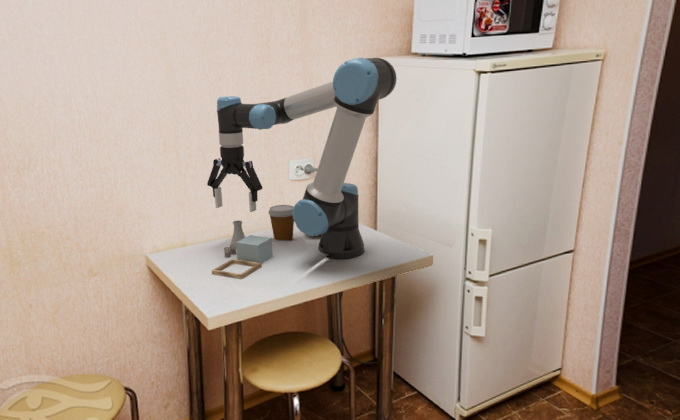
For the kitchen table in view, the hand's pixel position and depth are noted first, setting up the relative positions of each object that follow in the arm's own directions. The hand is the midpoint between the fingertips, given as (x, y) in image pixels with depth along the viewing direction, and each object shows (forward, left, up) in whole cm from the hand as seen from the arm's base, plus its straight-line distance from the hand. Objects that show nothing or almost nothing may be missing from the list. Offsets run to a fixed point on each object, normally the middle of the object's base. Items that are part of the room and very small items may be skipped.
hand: (235, 209), depth 188 cm
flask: (0, 0, -15) cm, 15 cm away
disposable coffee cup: (-9, -14, -15) cm, 22 cm away
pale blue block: (-12, +9, -13) cm, 20 cm away
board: (-9, +14, -14) cm, 22 cm away
